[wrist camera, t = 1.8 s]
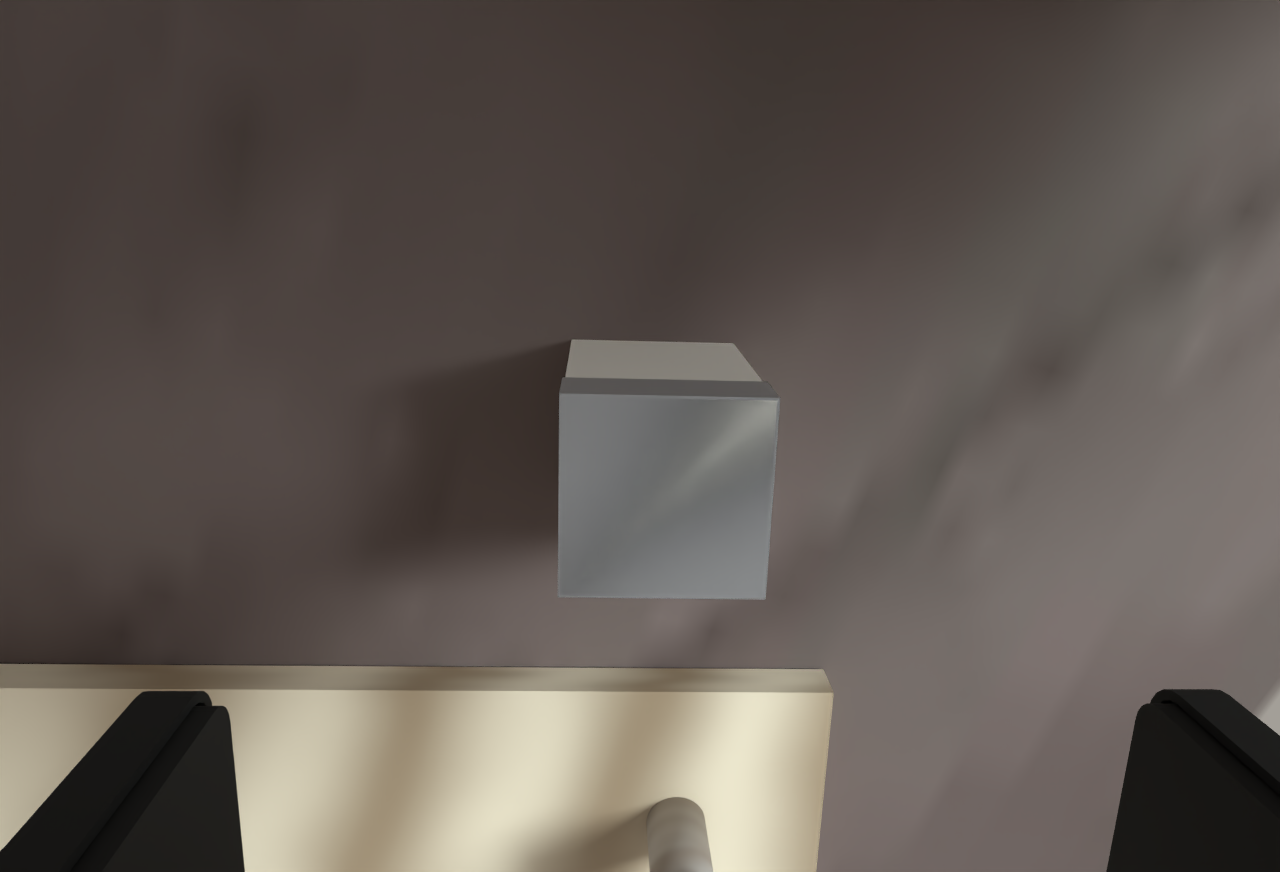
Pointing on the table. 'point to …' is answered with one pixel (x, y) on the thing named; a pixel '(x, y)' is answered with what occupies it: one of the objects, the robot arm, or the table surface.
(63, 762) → the board
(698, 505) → the grey rectangular block
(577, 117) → the table surface
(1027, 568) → the table surface
